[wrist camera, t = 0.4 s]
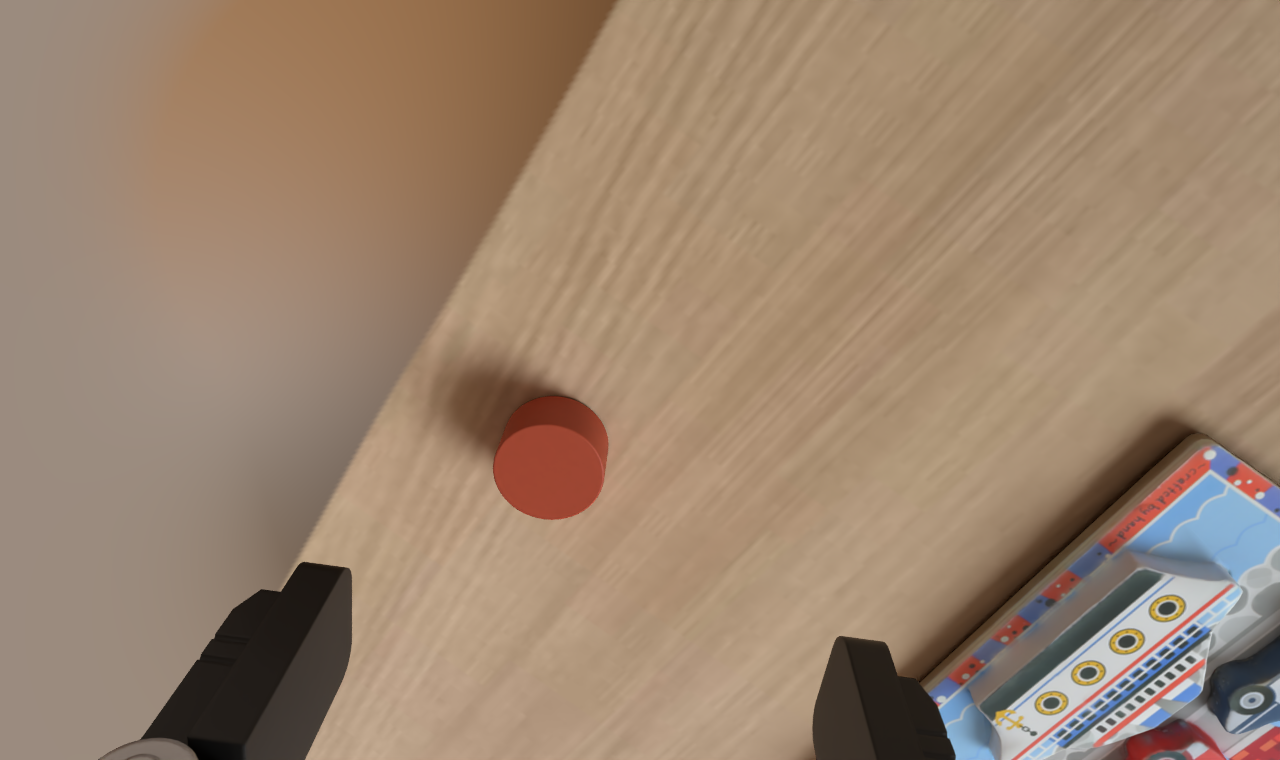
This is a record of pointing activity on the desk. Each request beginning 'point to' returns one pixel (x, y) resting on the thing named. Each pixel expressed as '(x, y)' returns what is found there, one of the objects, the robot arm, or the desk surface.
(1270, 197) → the desk surface
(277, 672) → the robot arm
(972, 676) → the puzzle board
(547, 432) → the cylinder
